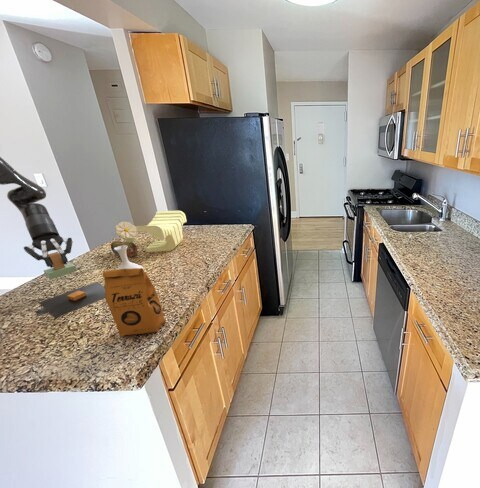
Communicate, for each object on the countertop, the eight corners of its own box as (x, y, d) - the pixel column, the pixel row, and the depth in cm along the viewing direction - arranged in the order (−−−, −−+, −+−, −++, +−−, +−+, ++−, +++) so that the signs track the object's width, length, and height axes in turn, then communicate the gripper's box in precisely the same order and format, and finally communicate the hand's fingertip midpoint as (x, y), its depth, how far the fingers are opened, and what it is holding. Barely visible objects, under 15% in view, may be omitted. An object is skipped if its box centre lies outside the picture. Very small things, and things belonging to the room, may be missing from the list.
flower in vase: (116, 283, 112) (98, 229, 103) (111, 275, 120) (93, 223, 110) (151, 273, 121) (136, 222, 112) (144, 265, 128) (130, 217, 119)
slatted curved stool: (169, 256, 138) (161, 225, 132) (137, 258, 137) (127, 226, 130) (190, 237, 166) (184, 210, 159) (163, 238, 164) (157, 211, 158)
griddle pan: (46, 325, 87) (45, 322, 87) (30, 308, 96) (29, 305, 96) (123, 293, 106) (123, 290, 105) (104, 281, 114) (103, 279, 114)
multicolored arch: (112, 255, 140) (107, 240, 137) (118, 253, 143) (113, 238, 140) (135, 258, 137) (130, 243, 134) (140, 255, 140) (136, 241, 137)
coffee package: (157, 336, 82) (138, 275, 74) (114, 340, 81) (90, 278, 72) (170, 316, 91) (154, 260, 83) (132, 320, 90) (112, 263, 82)
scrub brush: (50, 279, 97) (41, 259, 94) (46, 276, 100) (36, 256, 97) (77, 271, 104) (69, 251, 100) (72, 268, 106) (64, 248, 103)
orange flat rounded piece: (74, 300, 98) (73, 297, 98) (67, 298, 100) (66, 295, 99) (86, 295, 102) (85, 292, 101) (79, 293, 103) (78, 290, 103)
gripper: (12, 227, 94) (29, 267, 91) (64, 218, 104) (81, 254, 101) (18, 237, 99) (34, 275, 96) (67, 228, 109) (83, 263, 106)
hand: (58, 264), depth 99 cm, fingers closed on scrub brush, 3 cm apart
